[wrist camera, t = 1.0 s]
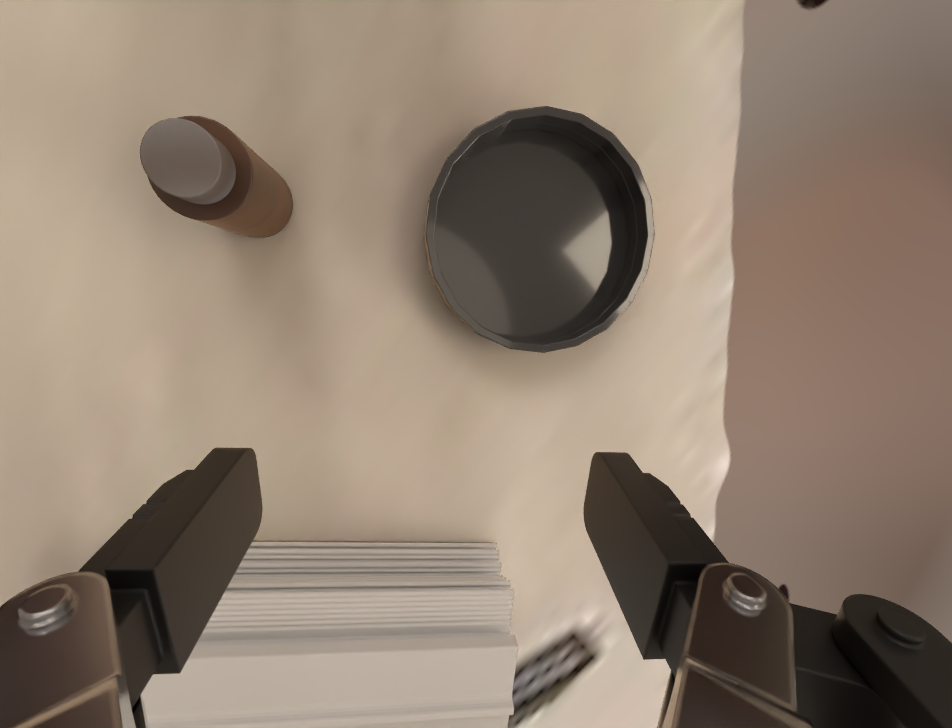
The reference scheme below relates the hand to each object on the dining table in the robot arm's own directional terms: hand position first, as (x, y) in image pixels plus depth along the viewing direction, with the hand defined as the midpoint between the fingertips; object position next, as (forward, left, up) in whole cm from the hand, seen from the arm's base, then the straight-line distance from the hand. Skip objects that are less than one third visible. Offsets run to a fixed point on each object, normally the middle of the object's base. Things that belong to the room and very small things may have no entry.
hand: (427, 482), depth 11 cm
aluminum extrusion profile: (+22, -13, -26) cm, 36 cm away
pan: (-6, +11, -26) cm, 29 cm away
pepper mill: (-12, -9, -26) cm, 30 cm away
